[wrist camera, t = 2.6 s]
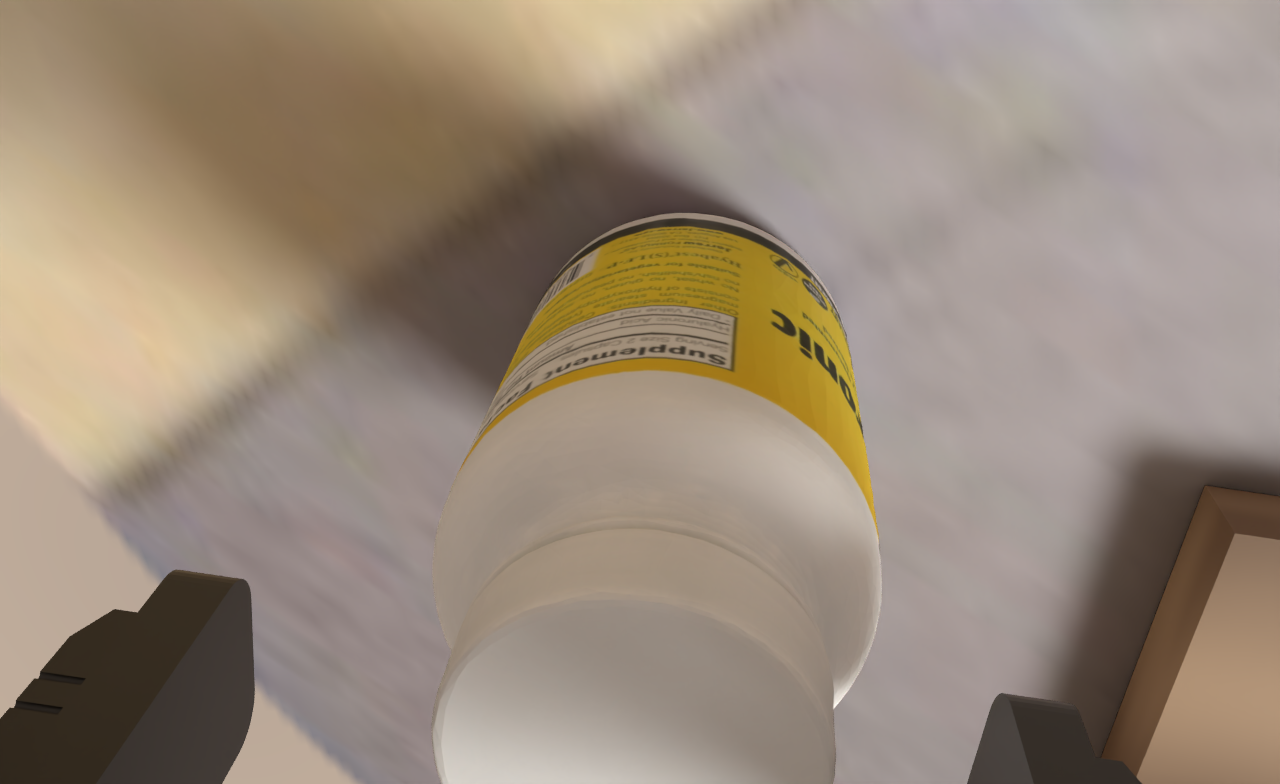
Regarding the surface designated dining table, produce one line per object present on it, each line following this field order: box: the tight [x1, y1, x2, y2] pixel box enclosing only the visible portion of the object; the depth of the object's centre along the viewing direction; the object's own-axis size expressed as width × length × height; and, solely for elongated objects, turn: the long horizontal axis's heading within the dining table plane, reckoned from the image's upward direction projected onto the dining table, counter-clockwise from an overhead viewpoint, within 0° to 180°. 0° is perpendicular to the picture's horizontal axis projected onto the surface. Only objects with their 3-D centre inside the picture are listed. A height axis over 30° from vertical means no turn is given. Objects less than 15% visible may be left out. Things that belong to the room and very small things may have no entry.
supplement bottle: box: [431, 213, 882, 784], centre depth 16 cm, size 5×5×10 cm
